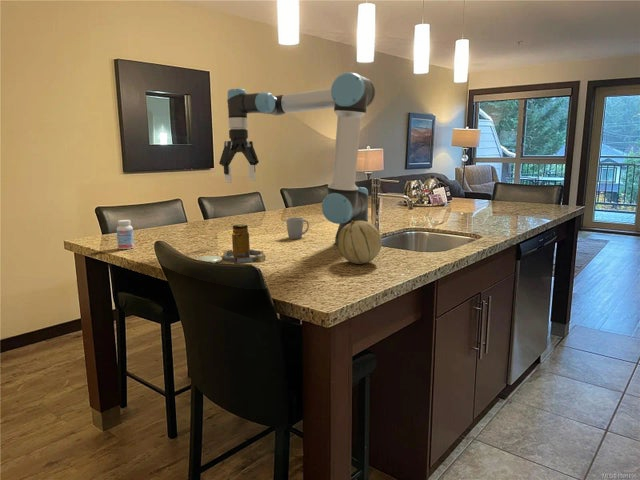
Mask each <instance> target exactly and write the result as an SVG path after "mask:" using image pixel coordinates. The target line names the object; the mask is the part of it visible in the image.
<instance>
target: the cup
mask: <svg viewBox="0 0 640 480" xmlns="http://www.w3.org/2000/svg"><path fill="white" fill-rule="evenodd" d="M285 220H286V221H285V222H286V229H287V235H288V239H291V240H298V239H299V238H300V239H301V238H302V237H303V235H305V234H306V233H307V232H308V231H309V227H310V225H309V224H310V223H309V221H308V220H307V219H304V218H303V217H296V216H295V217H287V218H286V219H285ZM304 223H306V225H307V228H306V229H305V230H304V231H303V229H304ZM300 239H299V240H300Z"/></svg>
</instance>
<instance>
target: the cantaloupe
mask: <svg viewBox="0 0 640 480" xmlns="http://www.w3.org/2000/svg"><path fill="white" fill-rule="evenodd" d="M382 243H383V242H382V236H381V234H380V231H379V230H378V228H377V227H376V226H374V225H373V223H370V222H369V221H368V222H367V221H351V223H349V224H347V225H346V226H345V227H344V228H343V229H342V230H341V231H340V233H339V236H338V244H337V246H338V247H337V248H338V251H339V252H340V254H341V256H342V257H343V258H344V259H345V260H346V261H348V262H349V263H352V264H357V265H361V264H362V265H363V264H367V263H370V262H372V261H374V259H375V258H377V257H378V255H379V253H380V251H381V248H382Z"/></svg>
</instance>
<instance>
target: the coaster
mask: <svg viewBox="0 0 640 480" xmlns="http://www.w3.org/2000/svg"><path fill="white" fill-rule="evenodd" d="M194 259H198V260H203V261H211V262H218V263H220V262H222V261H223V258H222V257H221V256H216V255H205V256H204V255H203V256H199V257H195V258H194Z"/></svg>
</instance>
